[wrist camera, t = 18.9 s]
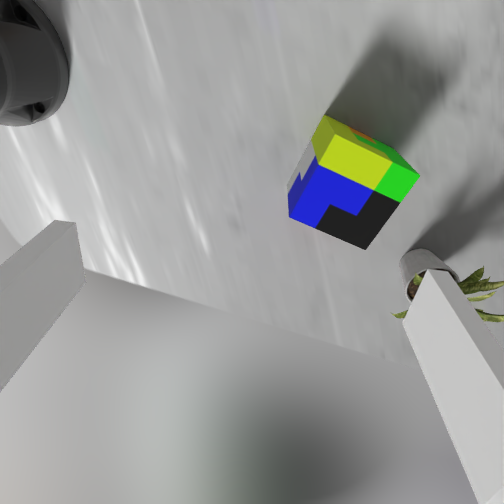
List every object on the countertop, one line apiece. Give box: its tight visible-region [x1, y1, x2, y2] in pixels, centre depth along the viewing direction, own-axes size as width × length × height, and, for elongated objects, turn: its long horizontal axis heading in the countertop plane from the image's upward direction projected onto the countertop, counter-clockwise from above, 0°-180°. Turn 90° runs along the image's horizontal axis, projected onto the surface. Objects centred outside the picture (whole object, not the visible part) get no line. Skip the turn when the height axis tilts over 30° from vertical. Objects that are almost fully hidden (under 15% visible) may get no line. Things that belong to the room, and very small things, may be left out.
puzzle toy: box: [287, 115, 420, 250], centre depth 42 cm, size 10×10×10 cm
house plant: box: [391, 249, 504, 322], centre depth 47 cm, size 14×14×16 cm
